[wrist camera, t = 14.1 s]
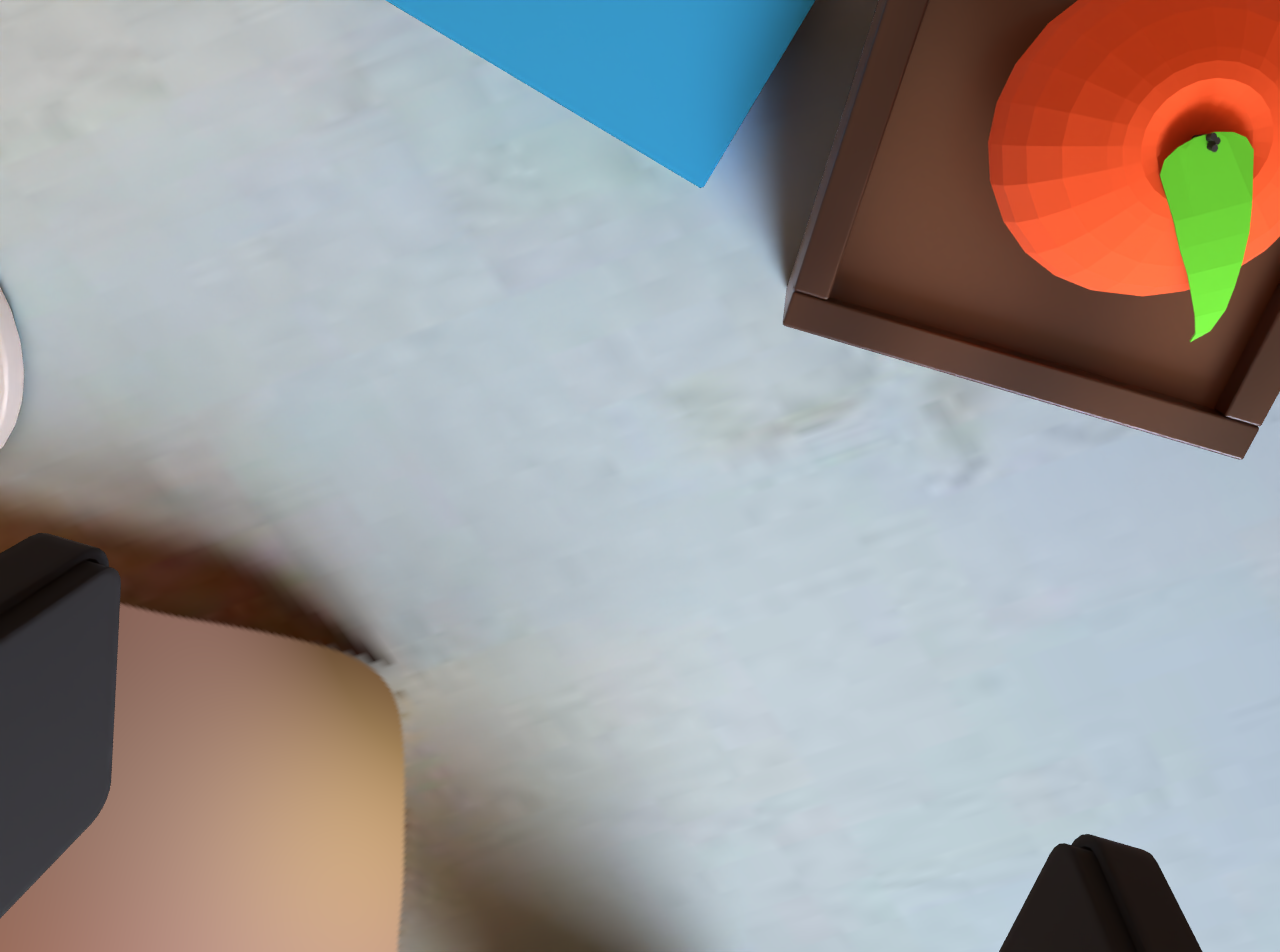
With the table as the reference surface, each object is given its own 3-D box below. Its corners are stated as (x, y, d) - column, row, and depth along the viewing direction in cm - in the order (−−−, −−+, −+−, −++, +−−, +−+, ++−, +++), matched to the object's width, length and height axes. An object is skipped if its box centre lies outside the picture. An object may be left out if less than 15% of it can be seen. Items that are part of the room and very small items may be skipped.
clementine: (1274, 270, 25) (1436, 327, 19) (999, 337, 27) (1060, 411, 21) (1241, -59, 23) (1413, -126, 17) (942, 38, 25) (991, 13, 18)
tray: (786, 289, 33) (782, 325, 27) (927, -153, 28) (955, -216, 22) (1169, 402, 32) (1243, 461, 26) (1384, -32, 27) (1528, -67, 22)
